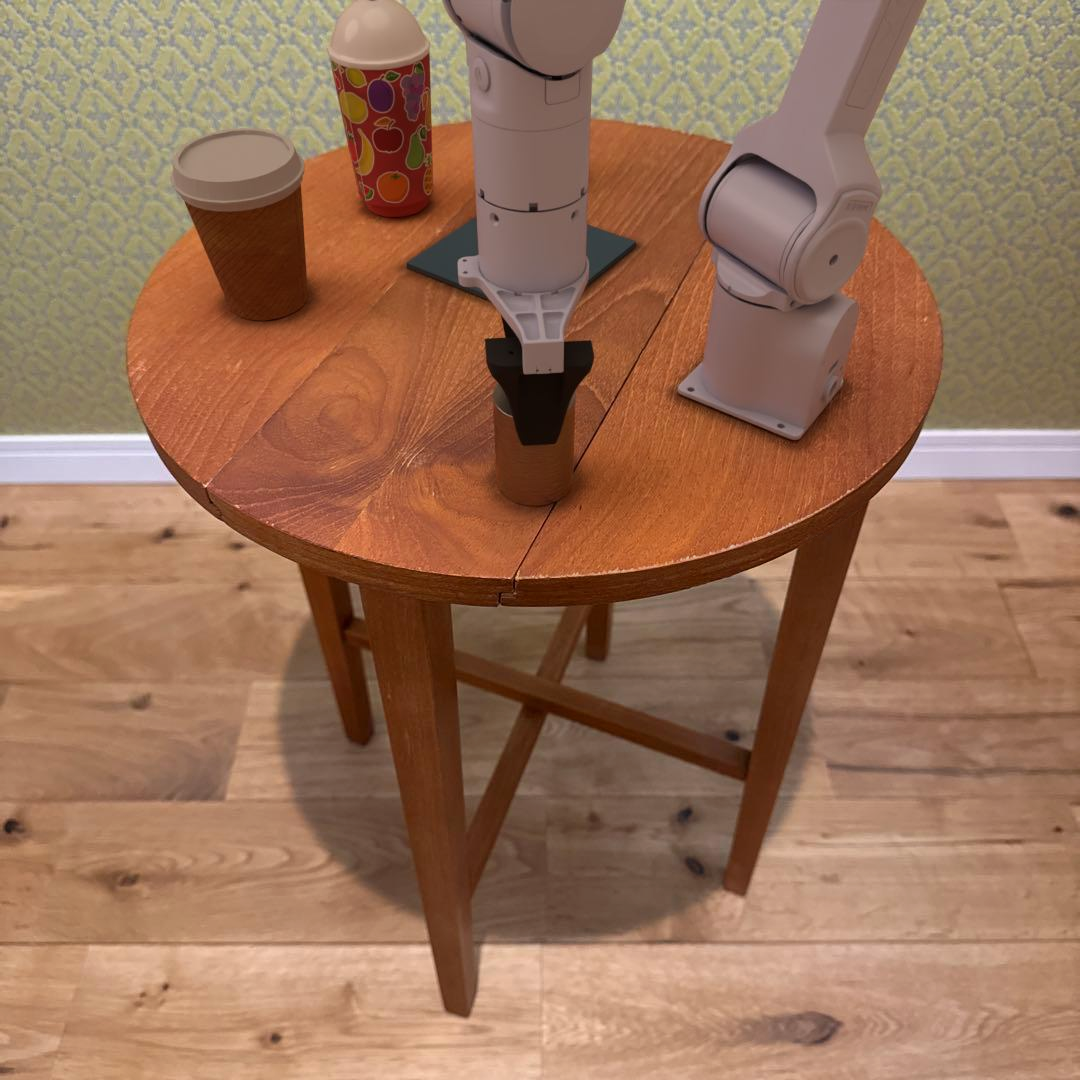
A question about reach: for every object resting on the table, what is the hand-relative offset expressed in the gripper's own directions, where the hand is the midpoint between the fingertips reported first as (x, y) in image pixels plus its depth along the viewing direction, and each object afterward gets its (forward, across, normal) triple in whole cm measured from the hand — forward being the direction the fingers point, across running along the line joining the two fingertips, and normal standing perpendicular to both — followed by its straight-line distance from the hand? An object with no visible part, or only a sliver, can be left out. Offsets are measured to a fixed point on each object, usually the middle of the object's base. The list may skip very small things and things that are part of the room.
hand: (533, 399), depth 59 cm
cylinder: (+7, 0, 0) cm, 7 cm away
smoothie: (+7, -38, -10) cm, 40 cm away
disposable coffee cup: (+7, -23, -20) cm, 31 cm away
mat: (+7, -28, +1) cm, 29 cm away
